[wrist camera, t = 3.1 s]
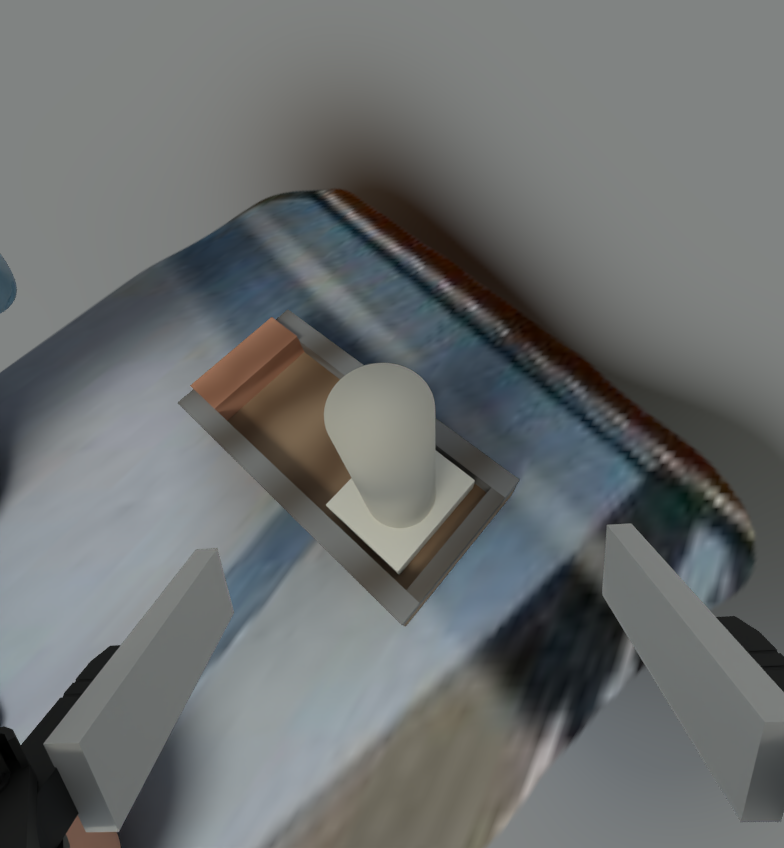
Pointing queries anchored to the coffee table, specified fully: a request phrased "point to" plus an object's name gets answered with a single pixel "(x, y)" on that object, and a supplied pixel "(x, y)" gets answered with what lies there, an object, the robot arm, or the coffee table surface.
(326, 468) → the track
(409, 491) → the disc
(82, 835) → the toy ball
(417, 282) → the coffee table surface
